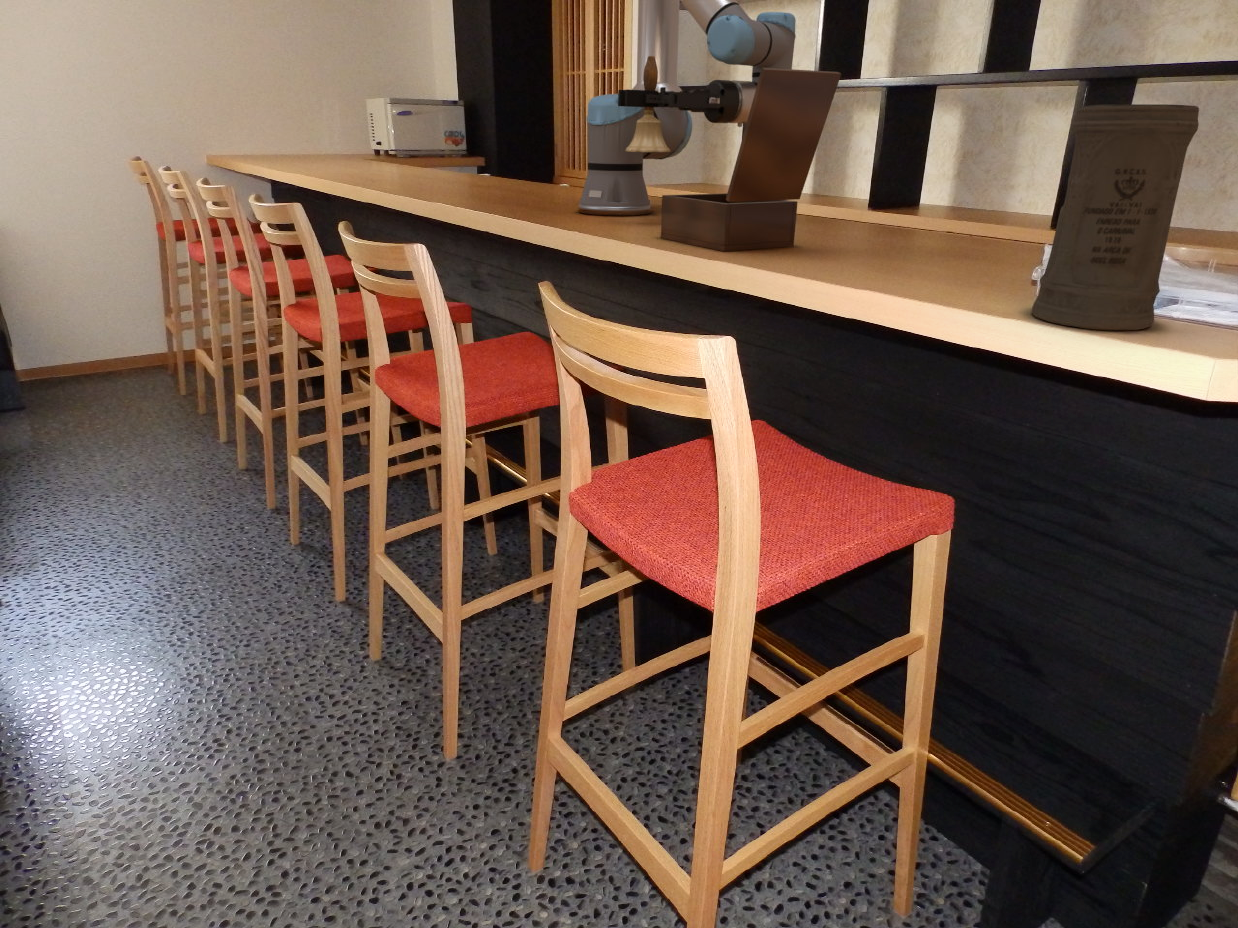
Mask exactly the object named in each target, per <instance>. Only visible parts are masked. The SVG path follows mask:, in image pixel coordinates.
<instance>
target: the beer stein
mask: <svg viewBox="0 0 1238 928" xmlns="http://www.w3.org/2000/svg"><path fill="white" fill-rule="evenodd" d="M1199 113H1200V108H1199V106H1196V105H1190V104H1163V103H1162V104H1160V103H1159V104H1155V103H1154V104H1150V103H1148V104H1147V103H1146V104H1139V103H1138V104H1137V103H1136V104H1135V103H1134V104H1132V103H1130V104H1129V103H1128V104H1127V103H1125V104H1124V103H1123V104H1119V103H1118V104H1117V103H1116V104H1090V105H1085V106H1081V107H1079V108H1078V110H1077V112H1076V115H1075V118H1074V121H1073V123H1072V125H1071V131H1072V133H1073V135H1074V140H1075V142H1074V149H1073V154H1072V160H1071V165H1070V170H1069V174H1068V179H1067V187H1066V193H1065V198H1064V203H1063V205H1062V206H1061V208H1060V211H1059V215H1058V219H1057V223H1056V228H1055V232H1054V235H1053V240H1052V245H1051V250H1050V254H1049V256H1048V260H1047V264H1046V267H1045V270H1044V273H1043V274H1042V276H1041V277H1040V278H1039V285H1040V287H1039V291H1038V294H1037V296H1036V298H1035V300H1034V302H1033V305H1032V306H1031V311H1030V312H1031V313H1032V315H1033V316H1034V317H1035V318H1038V319H1040V320H1043V321H1046V322H1049V323H1053V324H1056V325H1061V326H1068V327H1074V328H1081V329H1086V330H1095V331H1137V330H1143V329H1146V328H1150V327H1152V326H1153V325H1154V323H1155V307H1154V305H1155V302H1156V299H1157V296H1158V295H1159V294H1160V292H1161V290H1160V289H1161V288H1160V283H1159V279H1160V275H1161V270H1162V266H1163V261H1164V257H1165V251H1166V247H1167V242H1168V237H1169V233H1170V227H1171V223H1172V219H1173V213H1174V209H1175V204H1176V200H1177V195H1178V190H1179V187H1180V182H1181V178H1182V172H1183V169H1184V164H1185V160H1186V155H1187V151H1188V148H1189V145H1190V144H1191V142H1192V140H1193V138H1194V136H1195V135H1196V133H1197V132H1198V129H1199V125H1200V124H1199Z"/></svg>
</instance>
